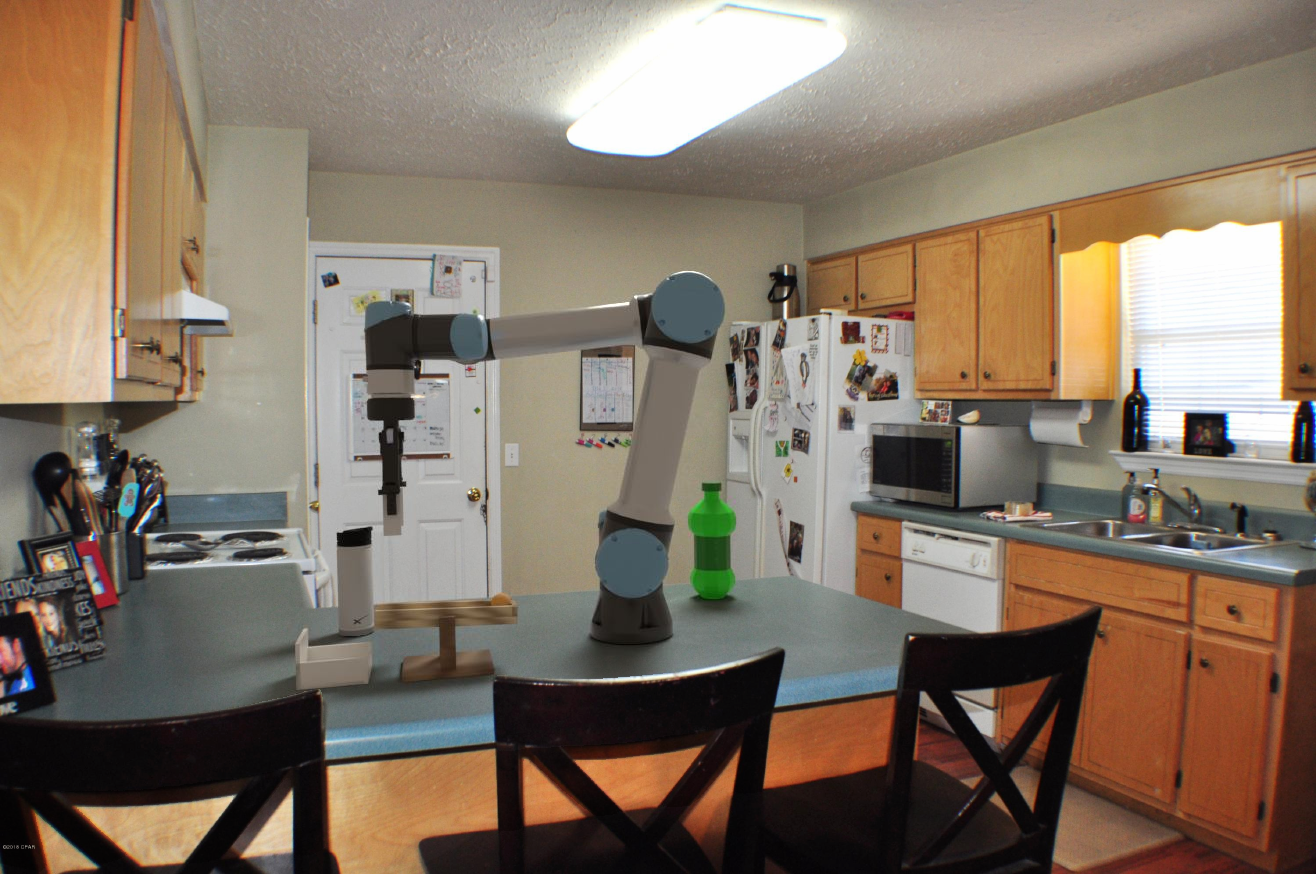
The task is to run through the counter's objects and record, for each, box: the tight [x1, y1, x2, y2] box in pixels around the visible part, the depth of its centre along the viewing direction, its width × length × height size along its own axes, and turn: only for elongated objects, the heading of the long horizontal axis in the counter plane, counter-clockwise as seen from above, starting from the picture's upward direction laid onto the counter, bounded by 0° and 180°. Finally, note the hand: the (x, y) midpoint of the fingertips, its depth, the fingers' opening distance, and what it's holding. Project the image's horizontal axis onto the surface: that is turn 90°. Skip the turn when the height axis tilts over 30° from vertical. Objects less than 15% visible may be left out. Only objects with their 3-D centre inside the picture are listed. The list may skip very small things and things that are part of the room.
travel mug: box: [336, 525, 375, 637], centre depth 159 cm, size 6×7×20 cm
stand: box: [401, 615, 495, 683], centre depth 138 cm, size 14×11×9 cm
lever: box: [374, 598, 519, 631], centre depth 141 cm, size 22×12×3 cm, turn 105°
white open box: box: [294, 627, 373, 691], centre depth 133 cm, size 10×9×7 cm
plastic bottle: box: [687, 481, 737, 600], centre depth 186 cm, size 10×10×25 cm
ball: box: [491, 592, 511, 606], centre depth 140 cm, size 3×3×3 cm
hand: (394, 530), depth 141 cm, fingers open, 10 cm apart
